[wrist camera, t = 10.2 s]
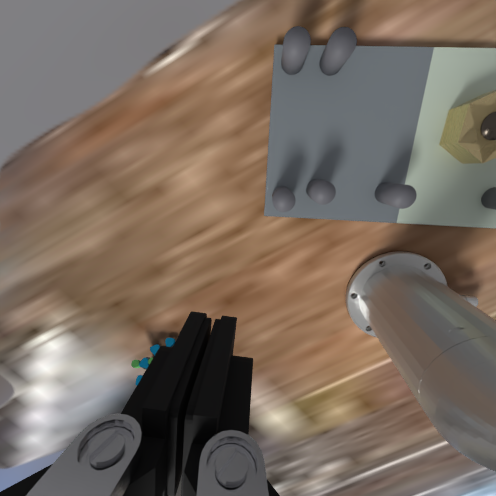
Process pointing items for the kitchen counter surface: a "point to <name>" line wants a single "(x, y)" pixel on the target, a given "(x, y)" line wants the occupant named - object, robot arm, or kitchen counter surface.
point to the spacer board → (374, 133)
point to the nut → (472, 130)
